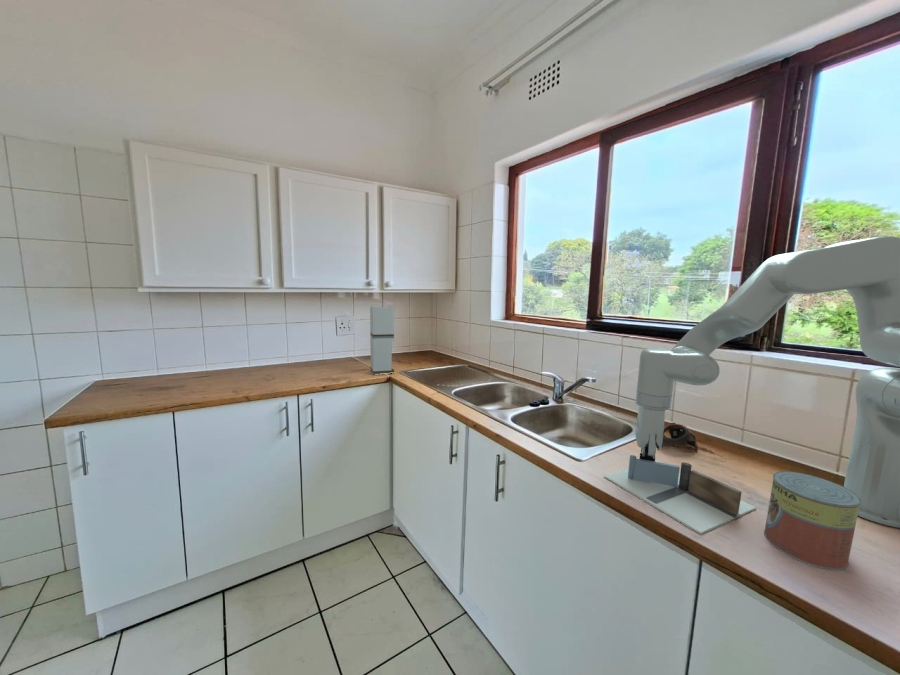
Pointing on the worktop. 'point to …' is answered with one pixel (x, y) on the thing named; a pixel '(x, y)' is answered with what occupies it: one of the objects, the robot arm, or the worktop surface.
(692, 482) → the fixed fence section
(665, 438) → the brown open ring frame
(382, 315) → the grooved grey pillar
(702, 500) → the card
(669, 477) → the hinged fence panel
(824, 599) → the worktop surface
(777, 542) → the canned food
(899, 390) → the robot arm
